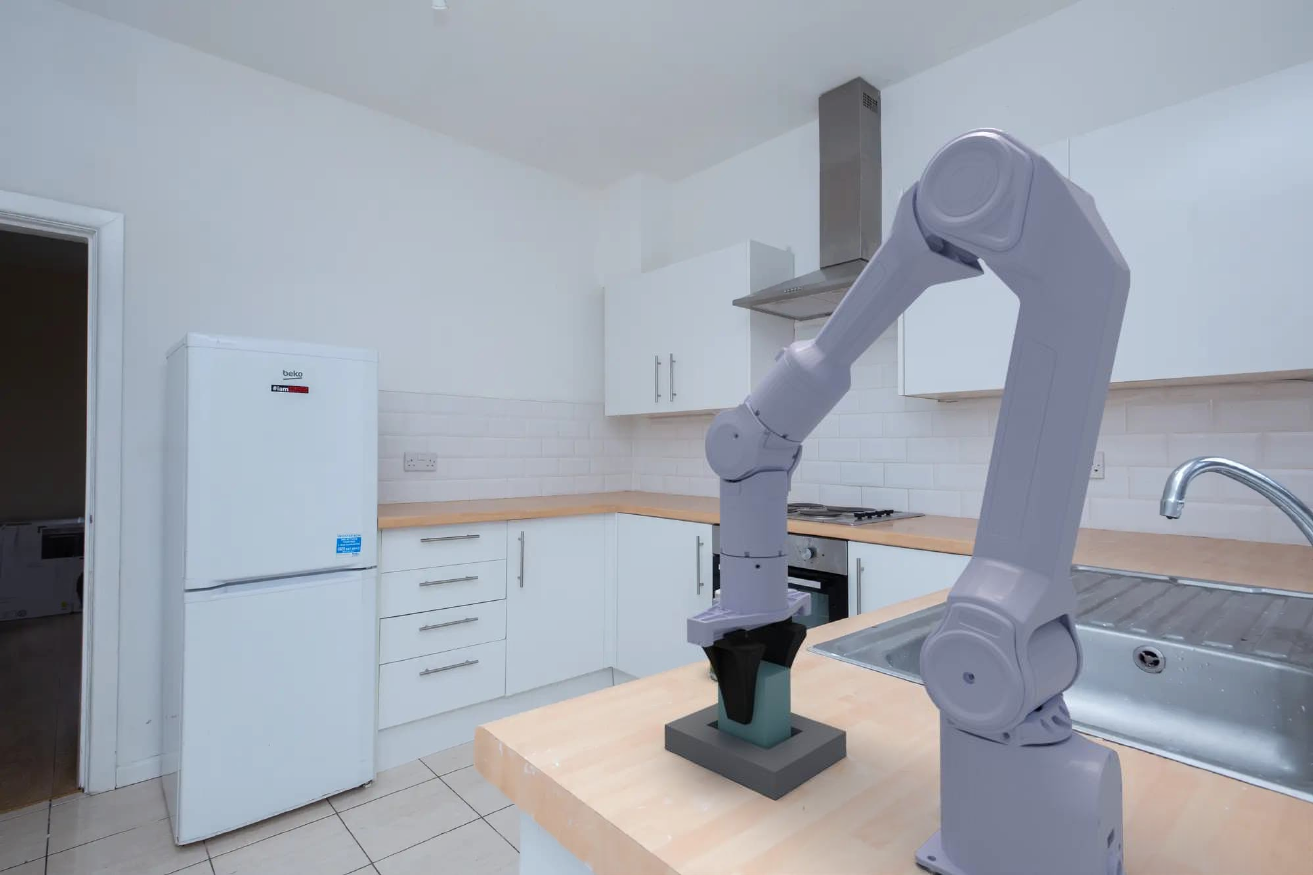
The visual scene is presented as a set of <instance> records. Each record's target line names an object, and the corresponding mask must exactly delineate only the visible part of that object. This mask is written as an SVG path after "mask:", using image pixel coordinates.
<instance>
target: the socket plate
mask: <svg viewBox="0 0 1313 875" xmlns="http://www.w3.org/2000/svg"><path fill="white" fill-rule="evenodd" d="M664 749H666V750H667V751H670V752H672V753H674V754H676V755H678V756H681V757H682V758H685V759H687V760H689V761H692V762H694V763H695V764H698V765H700V766H702V767H704V768H706V769H708V770H709V771H712V772H715V773H717V774H719V775H721V776H723V777H725V778H727V779H729V778H730V780H732V781H733V782H736V783H738V782H739V783H738V784H740V785H742V786H745V787H746V788H749V789H751V790H752V791H755V792H758V793H759V794H762V795H763V796H766V797H767V798H770V799H771V800H774V801H776V800H777V799H780V798H781V797H782V796H784V795H785V794H787V793H789V792H791V791H792V790H793V789H795V788H797V787H798V786H800V785H802V784H804V783H805V782H807V781H808V780H810V779H812V778H813V777H815V776H816V775H817V774H819V773H820V772H822V771H824V770H826V769H827V768H829V767H830V766H832V765H833V764H835V763H837V762H838V761H840V760H842V759H844V758H845V757H846V756H847V731H846V730H844V729H841V728H837V727H834V726H832V725H828V724H825V723H823V722H819V721H818V720H815V719H811V718H808V717H805V716H802V715H799V714H797V713H794V712H791V738H790V739H788V740H786V741H784V742H782V743H780V744H778V745H777V746H775V747H773V748H771V749H769V750H766V749H764V748H761V747H759V746H756V745H754V744H752V743H749V742H747V741H744V740H742V739H739V738H737V737H734V736H732V735H729V734H727V733H724V732H722V731H720V730H718V702H716V703H714V704H711V705H710V706H707V707H704V708H702V709H700V710H697V711H695V712H693V713H690V714H687V715H684V716H683V717H682V716H681V717H680V718H678V719H675V720H673V721H671V722H668V723H666V724H664Z"/></svg>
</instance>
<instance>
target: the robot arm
mask: <svg viewBox="0 0 1313 875" xmlns="http://www.w3.org/2000/svg"><path fill="white" fill-rule="evenodd" d="M1099 212H1100V211H1098V209H1097V205H1096V201H1095V198H1094V196H1093V195H1092V194H1091V193H1089V192H1088V191H1087V190H1085V189H1084V188H1082V187H1081V186H1079V185H1077V184H1076V183H1074V182H1073V181H1071V180H1070V179H1069V178H1068V177H1066V176H1064V175H1063V174H1062V173H1061V172H1059V170H1058V169H1057V168H1056V167H1055V166H1054V165H1053V164H1052V163H1051V162H1050V161H1049V160H1048V159H1047V158H1046V157H1044V155H1042V154H1041V153H1039V152H1038V151H1036V150H1035V149H1033V147H1031V146H1029V145H1027V144H1026V143H1025V142H1023V141H1022V140H1020V139H1019V138H1017V137H1015V136H1014V135H1013V134H1011V133H1009V132H1007V131H1005V130H1004V129H1000V128H994V127H979V128H974V129H969V130H967V131H965V132H963V133H960V134H958V135H957V136H955V137H953V138H951V139H950V140H949V141H947V142H946V143H945V144H944V145H943V146H941V147H940V148H939V149H938V150H937V151H936V153H934V155H933V156H932V157H931V158H930V160H929V161H928V163H927V164H926V166H925V168H924V169H923V171H922V174H921V176H920V178H919V180H916V181H915V182H914V183H912V185H910V186H909V187H908V189H906V190H905V192H904V193H903V194H902V195H901V196H900V199H899V202H898V206H897V208H896V212H895V215H894V219H893V222H892V224H891V229H890V230H889V233H888V235H887V236H886V237H885V239H884V240H883V242H882V243H881V244H880V246H879V247H878V249H876V251H875V252H874V254H873V255H872V257H871V259H870V260H869V261H868V262H867V264H866V265H865V267H864V268H863V270H862V271H861V272H860V274H859V276H857V278H856V280H855V281H854V282H853V284H852V285H851V287H850V288H849V289H848V291H847V293H846V294H845V295H844V297H843V298H842V299H841V301H840V302H839V304H838V305H837V307H836V308H835V309H834V310H833V312H832V313H831V315H830V316H829V318H828V320H827V321H826V322H825V323H824V325H823V326H822V328H820V331H819V332H818V333H817V335H816V336H815V337H814V338H812V339H807V340H806V339H805V340H797V341H794V342H792V343H791V344H790V345H789V346H788V347H782V348H781V349H780V350H779V351H778V353H777V354H776V356H775V357H774V360H775V364H774V365H773V366H772V368H771V369H770V370H769V371H768V373H767V374H766V375H765V376H764V377H763V379H762V380H761V382H760V383H759V384H758V386H757V387H756V388H755V389H754V390H753V392H752V393H749V394H748V395H747V396H746V398H745V399H744V401H743V402H740V403H739V404H738V406H737V407H735V408H728V409H724V410H722V411H720V412H718V413H716V414H715V416H714V418H713V421H712V422H711V424H709V427H708V429H707V432H706V435H705V440H704V441H705V442H704V450H705V451H704V452H705V457H706V460H707V463H708V464H709V467H710V468H711V470H712V471H713V472H714V473H715V475H717V476H718V477H719V574H720V575H719V577H720V578H719V585H720V586H719V587H720V588H719V589H720V597H717V598H715V597H714V598H712V606H710V607H708V608H707V609H705V610H703V611H701V612H700V613H697V614H695V615H693V616H690V617H689V616H688V617H687V618H686V642H687V643H689V644H692V645H696V646H700V647H701V648H702V650H703V652H704V653H705V655H706V657H707V659H708V660H709V664H710V663H711V665H712V667H713V670H714V672H715V675H716V678H717V680H718V681H717V680H716V681H717V685H718V684H719V687H720V690H721V694H722V698H723V702H724V706H725V710H726V714H727V718H728V719H730V720H732V721H735V722H738V723H740V724H743V725H748V724H750V723H751V721H752V717H753V711H754V698H755V684H756V678H757V673H758V669H759V665H760V662H761V660H763V661H766V662H770V663H773V664H777V665H780V666H784V667H787V668H790V669H792V667H793V663H794V661H795V659H796V657H797V654H798V652H799V650H800V648H801V646H802V644H803V642H804V641H805V639H807V634H808V633H807V632H808V630H807V629H808V628H807V627H808V626H807V625H805V624H802V623H799V622H794V621H793V617H796V616H802V617H807V616H810V615H812V594H811V593H810V592H806V591H805V592H803V591H798V590H793V589H792V590H789V582H788V581H789V575H788V574H789V573H788V571H789V570H788V569H789V568H788V566H789V556H788V552H789V551H788V549H789V548H788V496H789V492H791V491H792V477H793V474H794V472H795V470H796V469H797V467H798V466H799V464H800V461H801V458H802V456H803V455H802V454H803V448H804V447H803V444H802V443H803V442H804V441H805V440H806V438H808V437H809V435H810V434H811V433H812V432H813V431H814V430H815V429H816V427H818V425H819V424H820V423H821V422H823V420H824V419H825V418H826V416H828V414H829V413H830V412H831V411H832V409H834V407H835V406H837V404H838V403H839V402H840V401H841V400H842V399H843V398H844V397H845V395H846V394H847V393H848V392H849V391H850V390H851V387H852V375H851V368H852V367H851V366H852V365H853V364H854V363H855V362H856V361H857V360H858V359H859V358H860V356H862V355H863V354H864V353H865V352H866V350H868V349H869V347H871V345H873V343H874V342H875V341H877V340H878V339H879V338H880V336H881V335H883V334H884V333H885V332H886V330H887V329H888V328H890V326H892V324H893V323H894V322H895V321H897V320H898V319H899V317H900V316H901V315H902V314H903V313H904V312H905V311H907V309H908V308H909V307H910V306H911V305H912V304H913V303H914V302H915V301H916V300H917V299H918V298H919V297H920V296H921V295H922V294H923V293H924V292H925V291H926V290H927V289H928V288H930V287H933V286H937V285H940V284H945V283H951V282H956V281H961V280H967V279H971V278H977V277H980V276H983V275H984V274H985V271H984V269H983V267H982V265H981V263H980V261H979V259H981V260H983V261H984V264H985V265H986V266H987V267H988V268H989V269H990V270H991V271H992V272H993V273H994V274H995V275H996V277H997V278H998V279H1000V280H1001V281H1002V283H1004V284H1005V286H1006V287H1008V288H1009V289H1010V290H1011V292H1012V293H1013V294H1014V295H1016V296H1017V298H1018V301H1019V307H1018V308H1019V310H1018V313H1017V314H1018V315H1017V319H1016V325H1015V329H1014V335H1013V341H1012V346H1011V352H1010V355H1009V361H1008V367H1007V372H1006V378H1005V382H1004V388H1003V393H1002V397H1001V402H1000V408H999V413H998V418H997V424H996V428H995V429H996V431H995V433H994V440H993V445H992V450H991V454H990V455H991V456H990V460H989V465H988V471H987V476H986V481H985V488H984V491H983V498H982V503H981V506H980V507H981V508H980V512H979V517H978V524H977V528H976V534H975V539H974V544H973V550H972V554H971V558H970V560H969V561H968V563H967V565H966V567H965V568H964V569H963V571H962V572H961V574H960V575H959V577H958V578H957V579H956V581H955V583H954V584H953V586H952V588H951V589H950V591H949V593H948V594H947V597H946V602H945V608H944V612H943V615H942V617H941V619H940V621H939V622H938V624H937V626H936V627H935V628H934V629H933V630H932V631H931V632H930V633H929V634H928V635H927V637H926V638H925V640H924V642H923V643H922V647H921V649H920V653H919V654H920V655H919V666H918V667H919V674H920V678H921V681H922V685H923V687H924V689H925V691H926V694H927V695H928V697H929V699H930V700H931V702H932V703H933V704H934V706H935V707H936V709H938V711H939V770H940V773H939V781H940V782H939V783H940V784H939V785H940V789H939V790H940V828H939V829H938V830H937V831H936V832H935V833H934V834H933V835H932V836H930V838H928V839H927V840H926V841H925V843H923V844H922V845H921V846H920V847H919V848H918V849H917V850H916V851H915V853H914V860H915V862H916V863H917V864H919V865H921V866H923V867H925V868H927V869H930V870H931V871H934V872H936V873H938V874H941V875H1127V870H1126V869H1125V868H1124V831H1123V830H1124V827H1123V825H1124V824H1123V820H1124V819H1123V815H1124V814H1123V776H1122V774H1123V773H1122V767H1121V761H1120V757H1119V754H1118V752H1117V751H1116V750H1115V749H1113V748H1111V747H1108V746H1106V745H1105V744H1104V745H1103V744H1101V743H1098V742H1095V741H1093V740H1092V739H1089V738H1087V737H1085V736H1083V735H1082V734H1080V733H1079V732H1077V731H1075V730H1074V729H1073V719H1072V718H1071V714H1070V711H1069V709H1068V706H1067V704H1066V701H1065V700H1064V692H1066V691H1068V690H1070V689H1071V688H1072V687H1073V686H1074V685H1075V683H1076V682H1077V681H1078V680H1079V678H1080V676H1081V673H1082V670H1083V665H1084V653H1083V646H1082V644H1081V640H1080V637H1079V635H1078V632H1077V628H1076V627H1077V626H1076V611H1077V607H1078V603H1079V597H1078V593H1077V592H1076V589H1075V586H1074V584H1073V582H1072V579H1071V577H1070V572H1071V569H1072V563H1073V557H1074V553H1075V548H1076V544H1077V538H1078V534H1079V529H1080V525H1081V520H1082V515H1083V511H1084V505H1085V501H1086V496H1087V491H1088V487H1089V482H1090V478H1091V472H1092V469H1093V464H1094V458H1095V455H1096V454H1095V453H1096V450H1097V445H1098V440H1099V436H1100V431H1101V430H1100V429H1101V424H1102V420H1103V418H1104V417H1103V416H1104V412H1105V407H1106V400H1107V398H1108V392H1109V388H1110V383H1111V379H1112V374H1113V370H1114V363H1115V360H1116V355H1117V350H1118V346H1119V345H1118V344H1119V340H1120V335H1121V332H1122V327H1123V321H1124V317H1125V312H1126V307H1127V304H1128V303H1127V302H1128V298H1129V293H1130V288H1131V269H1130V268H1129V264H1128V263H1127V261H1126V259H1125V257H1124V256H1123V254H1122V252H1121V250H1120V249H1119V246H1118V244H1117V243H1116V241H1115V240H1114V237H1113V236H1112V234H1111V232H1110V230H1109V229H1108V227H1107V225H1106V223H1105V222H1104V220H1103V218H1102V216H1101V214H1100V213H1099ZM746 635H747V637H746Z"/></svg>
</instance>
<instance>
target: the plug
mask: <svg viewBox="0 0 1313 875" xmlns="http://www.w3.org/2000/svg"><path fill="white" fill-rule="evenodd" d="M791 669H792V668H791ZM791 669H790V668H787V667H784V666H780V665H777V664H773V663H770V662H766V661H763V660H761V662H760V665H759V669H758V673H757V678H756V684H755V698H754V711H753V717H752V721H751V723H750V724H748V725H743V724H740V723H738V722H735V721H732V720H730V719H728V718H727V714H726V710H725V706H724V702H723V698H722V694H721V690H720V687H719V684H718V683H717V703H718V730H720V731H722V732H724V733H727V734H729V735H732V736H734V737H737V738H739V739H742V740H744V741H747V742H749V743H752V744H754V745H756V746H759V747H761V748H764V749H766V750H769V749H771V748H773V747H775V746H777V745H778V744H780V743H782V742H784V741H786V740H788V739H790V738H791V713H792V708H791V707H792V706H791V704H792V703H791V702H792V701H791V700H792V698H791V696H792V695H791V692H792V690H791V689H792V688H791V678H792V677H791V676H792V674H791Z"/></svg>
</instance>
